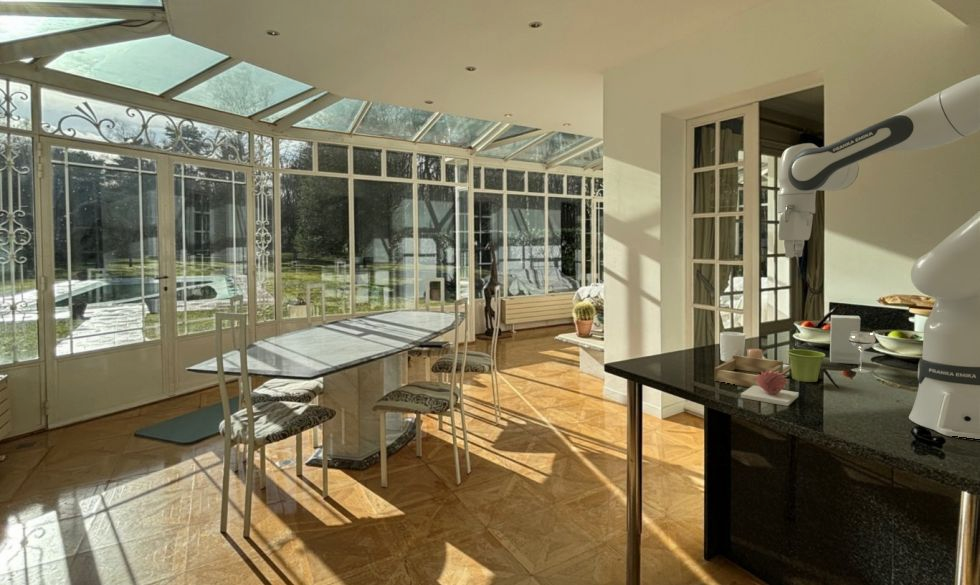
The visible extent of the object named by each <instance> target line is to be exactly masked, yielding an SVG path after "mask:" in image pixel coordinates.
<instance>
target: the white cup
mask: <svg viewBox="0 0 980 585" xmlns="http://www.w3.org/2000/svg"><path fill="white" fill-rule="evenodd" d="M745 346H746V333H744V332H740V331H739V332H736V331H722V332H720V333H719V349H720V351H719V353H720V360H721V361H723V362H724V363H725V362H727V361H729V360H731V359H733V355H737V356H745V355H744V354H745Z"/></svg>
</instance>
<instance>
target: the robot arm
mask: <svg viewBox="0 0 980 585" xmlns="http://www.w3.org/2000/svg"><path fill="white" fill-rule="evenodd" d="M978 132H980V74H977V75H973V76H971V77H969V78H967V79H964V80H962V81H960V82H957V83H955V84H953V85H951V86H949V87H947V88H945V89H943V90H940V91H938V92H937V93H936V94H934V95H931V96H929V97H927V98H925V99H923V100H922V101H919V102H917V103H916V104H914V105H912V106H911V107H908V108H907V109H904V110H903V111H901V112H898V113H896V114H894V115H891V116H890V117H888V118H887V119H884V120H882V121H880V122H877V123H875V124H872V125H870V126H868V127H866V128H864V129H862V130H859V131H856V132H854V133H853V134H850V135H847V136H845V137H843V138H842V139H840V140H837V141H835V142H833V143H831V144H828V145H825V146H821V147H819V146H817V145H816V144H814V143H811V142H806V143H805V142H804V143H803V142H802V143H797V144H794V145H792V146H790V147H787V148H786V149H785V150H784V151H783V152H782V154H781V157H780V160H779V168H778V183H779V191H778V193H777V214H779V215H780V216H779V221H778V223H779V224H778V232H777V233H778V240H780V241H784V242H783V245H784V249H785V250H784V251H785V253H784V254H785V258H787V259H788V258H790V259H791V258H792V259H793V258H794V257H795V258H798V257H799V258H801V257H802V256H803V250H804V246H805V241H809V239H810V238H811V234H812V228H813V227H812V226H813V219H814V215H813V214H816V211H817V210H816V208H817V207H816V194H817V191H824V192H825V191H826V192H827V191H828V192H829V191H831V192H836V191H840V190H844V189H847V188H848V187H850V186H852V184H853V183H855V181H856V179H857V177H858V174H859V162H860V161H861V162H862V161H863V160H866V159H869V158H870V157H874V156H876V155H879V154H883V153H887V152H895V151H896V152H897V151H918V150H919V151H924V150H932V149H935V148H939V147H943V146H946V145H949V144H952V143H954V142H957V141H959V140H962V139H965V138H966V137H969V136H971V135H973V134H975V133H978ZM910 278H911V283H912V284H913V286H914V287H915V289H917V291H919V292H920V293H921V294H924V295H926V296H928V297H931V298H934V299H935V300H934V303H933V307H932V309H931V311H930V313H929V315H928V317H927V318H926V320H925V322H924V325H923V337H922V338H923V340H922V341H923V342H922V353H921V355H922V356H921V357H920V358H919V361H918V366H917V367H918V368H917V380H918V381H917V382H918V388H917V392H916V397H915V401H914V404H913V406H912V409H911V411H910V413H909V416H908V419H909V420H910V421H911V422H913V423H915V424H917V425H918V426H919V425H920V426H921V427H924V428H927V429H930V430H934V431H935V432H938V433H939V434H942V435H944V436H947V437H952V436H958V437H957V438H959V437H967V438H975V439H980V210H979V211H978V212H976V213H975V214H974V215H973V216H972V217H971V218H969V219H968V220H967V221H966V222H965V223H963V224H962V225H961V226H959V227H958V228H957V229H955V230H954V231H953V232H952V233H950V234H949V235H948V236H947V237H945V239H943V240H942V241H941V242H940V243H938V244H937V245H936V246H935V247H934V248H932V249H931V250H929V251H927V253H925V254H923V255H922V256H920V257H919V258H918V259H916V261H914V263H913V265H912V267H911V270H910Z"/></svg>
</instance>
